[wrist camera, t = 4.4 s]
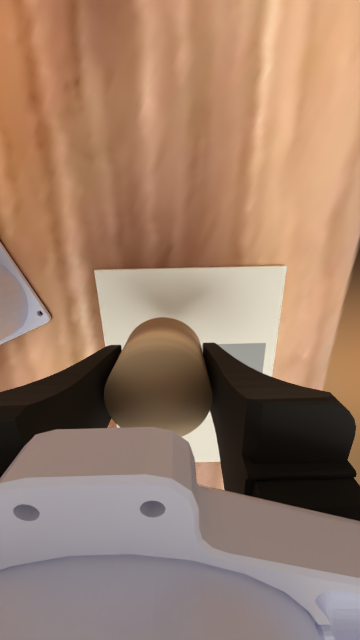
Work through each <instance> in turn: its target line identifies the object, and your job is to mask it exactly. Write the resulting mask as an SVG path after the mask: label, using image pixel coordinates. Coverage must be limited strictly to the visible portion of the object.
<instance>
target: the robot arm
mask: <svg viewBox="0 0 360 640" xmlns="http://www.w3.org/2000/svg"><path fill="white" fill-rule="evenodd" d="M40 311H42V312H43V315H41V314H40ZM50 320H51V316H50V314H49V313H48V311H47V310H46V308H45V307H44V305H43V304H42V302H41V301H40V299H39V298H38V296H37V295H36V294H35V292H34V291H33V289H32V288H31V286H30V285H29V283H28V282H27V280H26V279H25V277H24V276H23V274H22V273H21V271H20V270H19V269H18V267H17V266H16V264H15V263H14V261H13V260H12V258H11V257H10V255H9V254H8V252H7V251H6V249H5V248H4V246H3V245H2V244H1V242H0V344H3V343H5V342H7V341H9V340H11V339H13V338H16V337H18V336H20V335H22V334H24V333H26V332H28V331H31V330H33V329H35V328H37V327H39V326H41V325H44V324H46V323H48V322H49V321H50ZM121 351H122V348H121V345H109V346H106V347H105V348H103V349H101V350H99V351H97V352H96V353H94V354H92V355H91V356H89V357H87V358H86V359H84V360H82V361H80V362H78V363H76V364H74V365H73V366H71V367H69V368H67V369H65V370H63V371H60V372H58V373H56V374H54V375H51V376H49V377H46V378H44V379H41V380H38V381H35V382H32V383H30V384H27V385H24V386H21V387H17V388H14V389H10V390H7V391H3V392H0V640H360V486H359V484H358V483H357V482H356V480H355V479H354V478H353V477H356V471H355V469H354V468H353V467H352V465H351V464H350V463H349V462H348V460H347V459H348V456H349V453H350V450H351V446H352V443H353V440H354V437H355V430H356V425H355V420H354V418H353V416H352V415H351V413H350V412H349V411H348V410H347V409H346V408H345V407H344V406H343V405H342V404H341V403H340V402H339V401H338V400H337V399H336V398H335V397H334V396H333V395H332V394H331V393H330V392H325V391H321V390H316V389H311V388H306V387H302V386H298V385H295V384H291V383H288V382H285V381H282V380H279V379H276V378H273V377H271V376H268V375H266V374H263V373H261V372H259V371H257V370H255V369H253V368H251V367H249V366H247V365H245V364H244V363H242V362H241V361H239V360H237V359H236V358H234V357H233V356H232V355H230V354H229V353H228V352H226V351H225V350H224V349H222V348H221V347H220V346H219V345H217V344H216V343H214V342H213V343H203V356H204V360H205V364H206V368H207V372H208V377H209V381H210V385H211V390H212V404H211V408H210V413H211V416H212V420H213V424H214V427H215V432H216V437H217V443H218V449H219V455H220V462H221V468H222V475H223V482H224V489H225V490H221V489H216V488H212V487H207V486H203V485H199V484H197V481H196V469H195V458H194V455H193V452H192V449H191V447H190V444H189V442H188V441H186V440H185V439H184V438H182V437H181V436H180V435H178V434H177V433H175V432H174V431H172V430H166V429H161V428H155V427H131V428H107V427H108V425H109V422H110V420H111V416H110V415H109V413H108V411H107V409H106V406H105V402H104V389H105V384H106V382H107V379H108V377H109V375H110V373H111V371H112V369H113V367H114V365H115V363H116V361H117V359H118V357H119V355H120V353H121Z"/></svg>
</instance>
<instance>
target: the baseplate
mask: <svg viewBox="0 0 360 640" xmlns="http://www.w3.org/2000/svg"><path fill="white" fill-rule="evenodd" d="M286 270H287V266H284V265H273V266H228V267H183V268H137V269H97V270H94V273H95V279H96V286H97V293H98V300H99V307H100V314H101V320H102V327H103V334H104V341H105V347H106V346H109V345H121V348H122V350H123V348H124V346H125V344H126V342H127V340H128V338H129V336H130V334H131V333H132V331H133V330H134V329H135V328H136V327H137V326H138V325H140V324H141V323H143V322H145V321H147V320H150V319H153V318H159V317H167V318H173V319H177V320H179V321H181V322H183V323H185V324H187V325H188V326H189V327H190V328H191V329H192V330H193V331H194V332H195V333H196V335H197V336H198V338H199V340H200V343H201V347H202V352H203V343H213V342H214V343H216V344H217V345H219V346H220V347H221V348H222V349H224V350H225V351H226V352H228V353H229V354H230V355H232V356H233V357H234V358H236V359H237V360H239V361H241V362H242V363H244V364H245V365H247V366H249V367H251V368H253V369H255V370H257V371H259V372H261V373H263V374H266V375H268V376H271V377H272V373H273V365H274V358H275V351H276V343H277V336H278V329H279V321H280V314H281V307H282V299H283V292H284V285H285V277H286ZM117 428H120V427H119V426H118V425H117ZM182 438H184V439H185V440H186V441H188V442H189V444H190V447H191V449H192V452H193V455H194V458H195V462H220V455H219V449H218V443H217V437H216V432H215V427H214V424H213V420H212V416H211V413H210V411H209V413H208V415H207V417H206V418H205V420H204V421H203V422H202V424H201V425H200V426H198V427H197V428H196V429H195V430H193V431H192V432H190V433H189V434H187V435H184V436H182Z"/></svg>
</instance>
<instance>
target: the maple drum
mask: <svg viewBox="0 0 360 640" xmlns="http://www.w3.org/2000/svg"><path fill="white" fill-rule="evenodd" d="M104 402H105V406H106V409H107V411H108V413H109V415H110V416H111V418H112V419H113V421H114V422H115V423H116V424H117V425H118V426H119V427H120V428H131V427H155V428H161V429H166V430H172V431H174V432H175V433H177V434H178V435H180V436H181V437H182V436H184V435H187V434H189V433H190V432H192V431H193V430H195V429H196V428H197V427H198V426H200V425H201V424H202V422H203V421H204V420H205V418H206V417H207V415H208V413H209V411H210V408H211V404H212V390H211V385H210V381H209V377H208V372H207V368H206V364H205V360H204V356H203V352H202V347H201V343H200V340H199V338H198V336H197V335H196V333H195V332H194V331H193V330H192V329H191V328H190V327H189V326H188V325H187V324H185V323H183V322H181V321H179V320H177V319H173V318H167V317H159V318H153V319H150V320H147V321H145V322H143V323H141V324H140V325H138V326H137V327H136V328H135V329H134V330H133V331H132V333H131V334H130V336H129V338H128V340H127V342H126V344H125V346H124V348H123V350H122V351H121V353H120V355H119V357H118V359H117V361H116V363H115V365H114V367H113V369H112V371H111V373H110V375H109V377H108V379H107V382H106V384H105V389H104Z"/></svg>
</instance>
